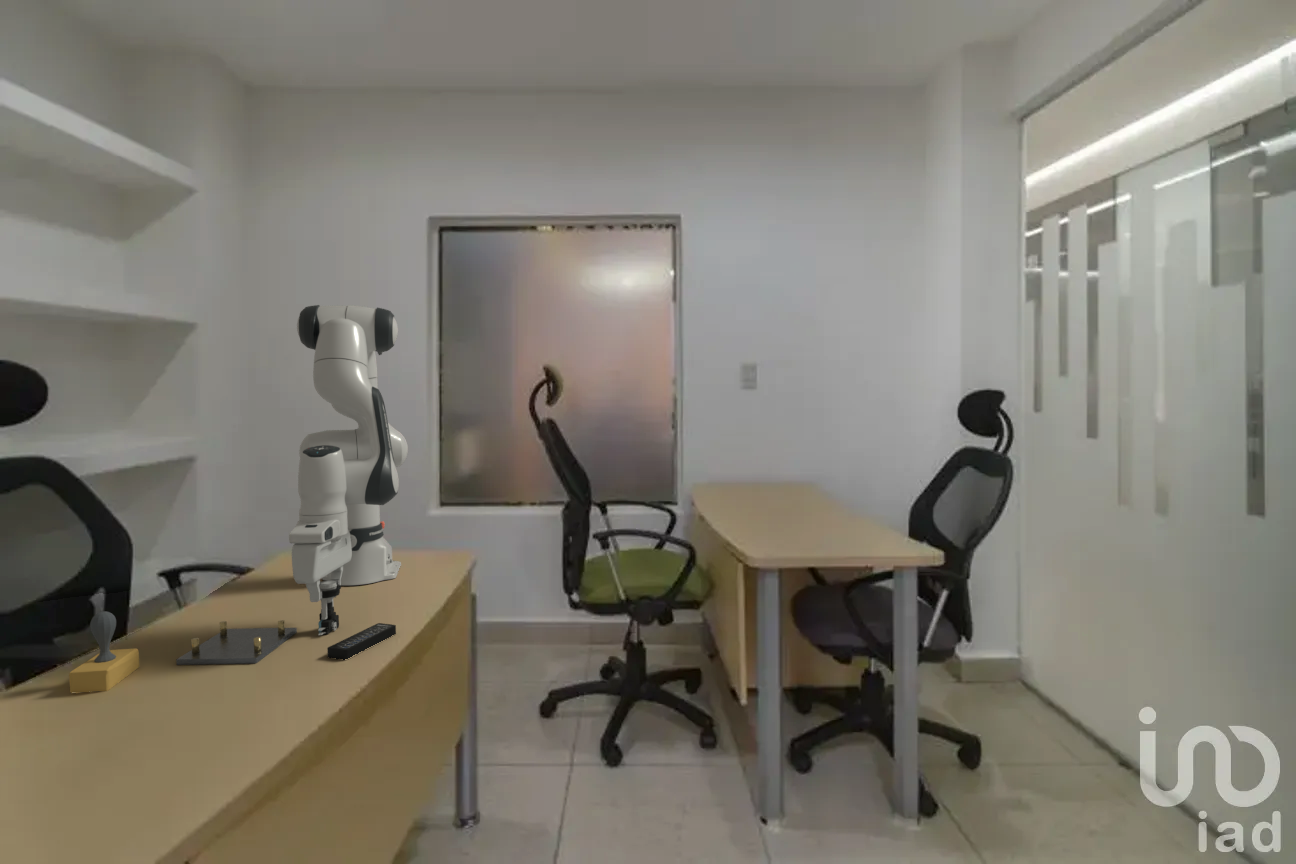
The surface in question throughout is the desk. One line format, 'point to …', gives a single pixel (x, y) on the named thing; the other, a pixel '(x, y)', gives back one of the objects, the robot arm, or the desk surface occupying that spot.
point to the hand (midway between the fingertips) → (326, 594)
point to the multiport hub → (361, 641)
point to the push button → (328, 607)
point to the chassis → (237, 645)
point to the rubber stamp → (104, 660)
